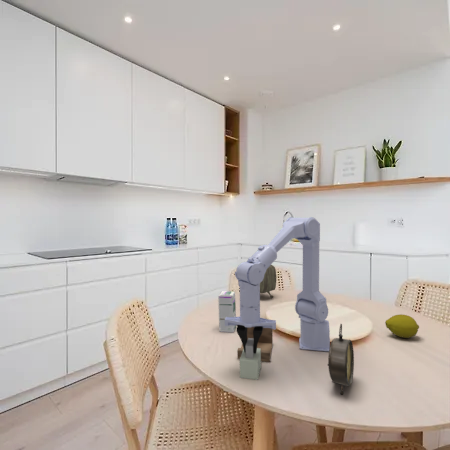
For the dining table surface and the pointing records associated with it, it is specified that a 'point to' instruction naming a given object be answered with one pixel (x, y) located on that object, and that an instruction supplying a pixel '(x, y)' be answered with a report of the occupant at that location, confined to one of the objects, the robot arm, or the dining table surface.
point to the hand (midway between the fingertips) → (250, 351)
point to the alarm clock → (341, 361)
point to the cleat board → (261, 343)
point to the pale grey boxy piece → (250, 361)
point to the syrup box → (226, 310)
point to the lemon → (402, 326)
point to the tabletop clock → (268, 281)
